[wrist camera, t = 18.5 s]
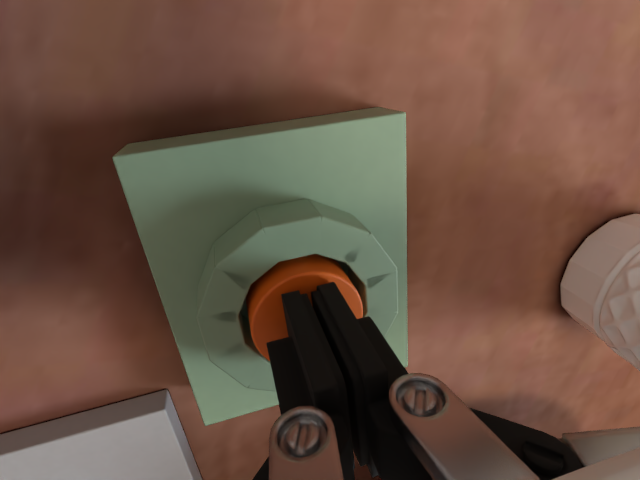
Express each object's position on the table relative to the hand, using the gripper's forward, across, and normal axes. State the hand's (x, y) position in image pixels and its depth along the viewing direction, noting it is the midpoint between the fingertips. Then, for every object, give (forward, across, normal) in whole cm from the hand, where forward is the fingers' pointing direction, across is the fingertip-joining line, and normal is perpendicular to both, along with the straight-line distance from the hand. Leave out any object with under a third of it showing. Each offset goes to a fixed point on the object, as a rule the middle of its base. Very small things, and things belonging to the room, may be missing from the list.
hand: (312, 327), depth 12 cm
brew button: (+2, 0, 0) cm, 2 cm away
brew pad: (+5, 0, 0) cm, 5 cm away
